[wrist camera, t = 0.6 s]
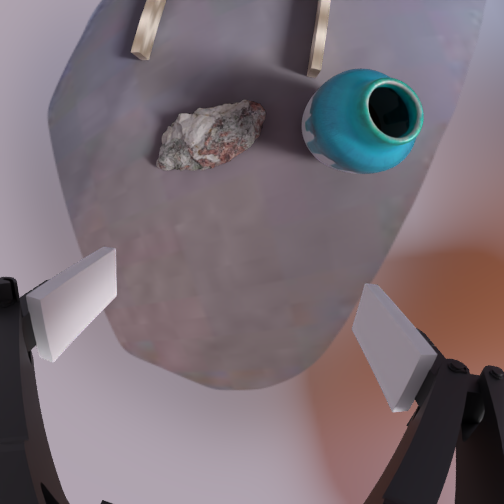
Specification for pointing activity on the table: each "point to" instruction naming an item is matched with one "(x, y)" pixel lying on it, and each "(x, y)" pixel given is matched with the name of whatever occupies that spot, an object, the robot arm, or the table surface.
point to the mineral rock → (210, 136)
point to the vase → (362, 122)
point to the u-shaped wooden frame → (155, 9)
